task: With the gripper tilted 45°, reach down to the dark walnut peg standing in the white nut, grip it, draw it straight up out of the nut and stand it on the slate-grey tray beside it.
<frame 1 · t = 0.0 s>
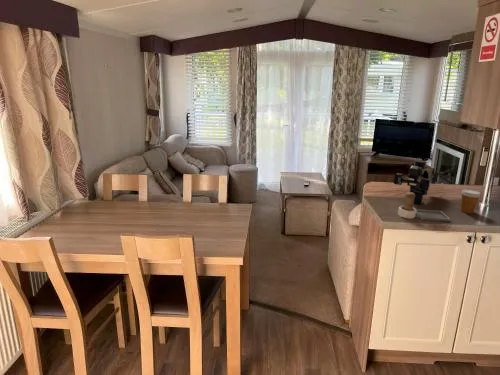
hand: (406, 184, 201), 17 cm above the table, tool horizontal, fingers open, 9 cm apart
white nut: (406, 215, 204), on the table
dowel peg: (408, 204, 202), in the white nut
tray: (431, 216, 203), on the table
disposable coffee cup: (466, 211, 213), on the table
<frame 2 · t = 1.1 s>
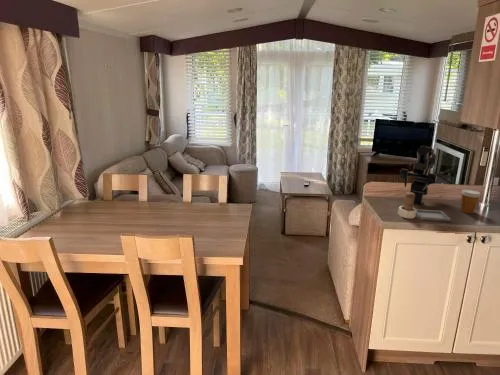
hand: (413, 188, 205), 14 cm above the table, tool tilted 45°, fingers open, 9 cm apart
nothing on the table moved.
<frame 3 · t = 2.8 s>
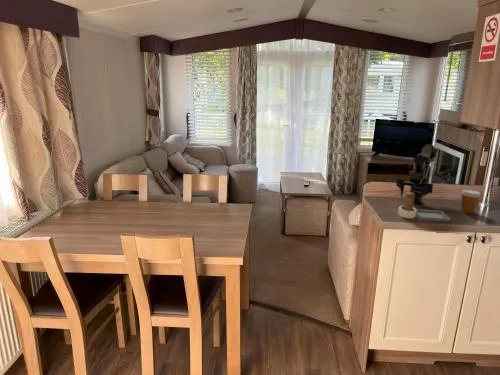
hand: (410, 198, 202), 9 cm above the table, tool tilted 45°, fingers open, 9 cm apart
nothing on the table moved.
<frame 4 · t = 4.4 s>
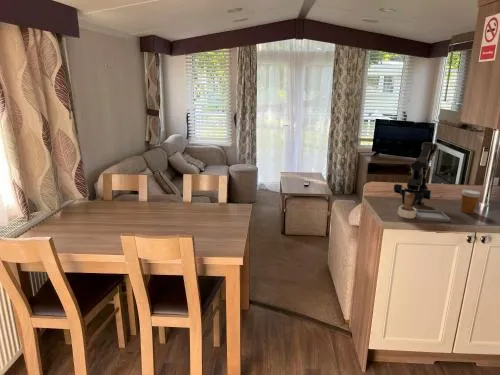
hand: (407, 204, 200), 7 cm above the table, tool tilted 45°, fingers closed on dowel peg, 5 cm apart
dowel peg: (408, 204, 202), in the white nut, touching gripper
everything else where it was.
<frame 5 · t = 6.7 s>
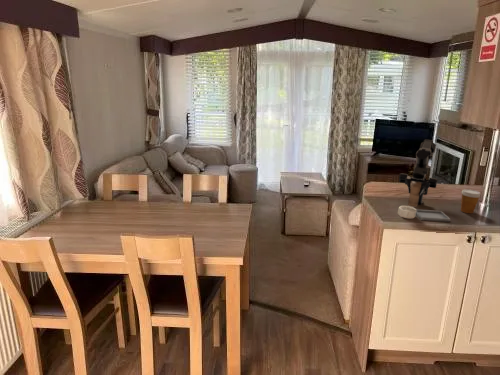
hand: (414, 193, 198), 13 cm above the table, tool tilted 45°, fingers closed on dowel peg, 5 cm apart
dowel peg: (414, 193, 199), point 13 cm above the table, touching gripper
everything else where it was.
when the fingers open (8 cm above the table, at t = 9.2 s): dowel peg stays where it is, resting on tray.
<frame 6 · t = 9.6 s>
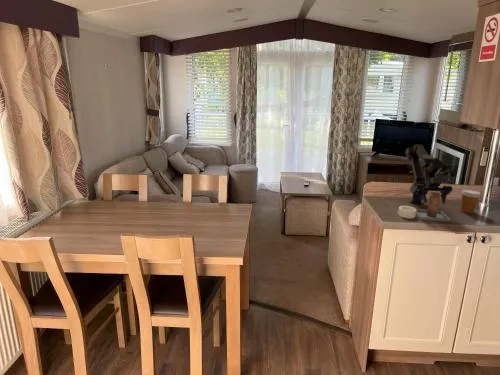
hand: (434, 203, 199), 8 cm above the table, tool tilted 45°, fingers open, 9 cm apart
dowel peg: (433, 204, 201), in the tray, point 7 cm above the table
everything else where it was.
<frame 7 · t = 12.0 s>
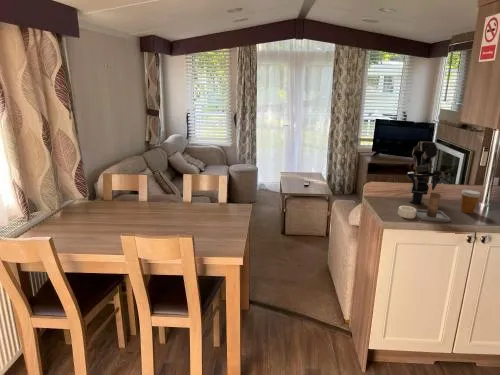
hand: (424, 190, 206), 13 cm above the table, tool tilted 30°, fingers open, 9 cm apart
nothing on the table moved.
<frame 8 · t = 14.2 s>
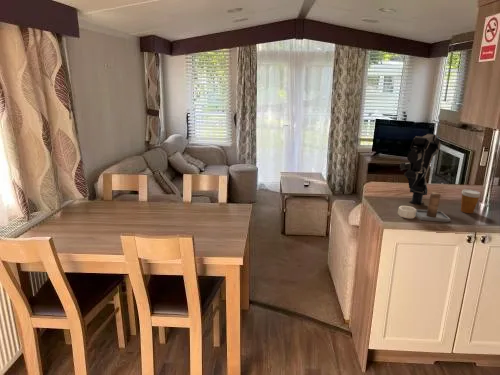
hand: (412, 186, 211), 13 cm above the table, tool pointing down, fingers open, 9 cm apart
nothing on the table moved.
at the end: dowel peg inside the target area on the tray (0.0 cm from its centre), point 6.9 cm above the tray's base; dowel peg touching tray; the gripper is holding nothing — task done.
